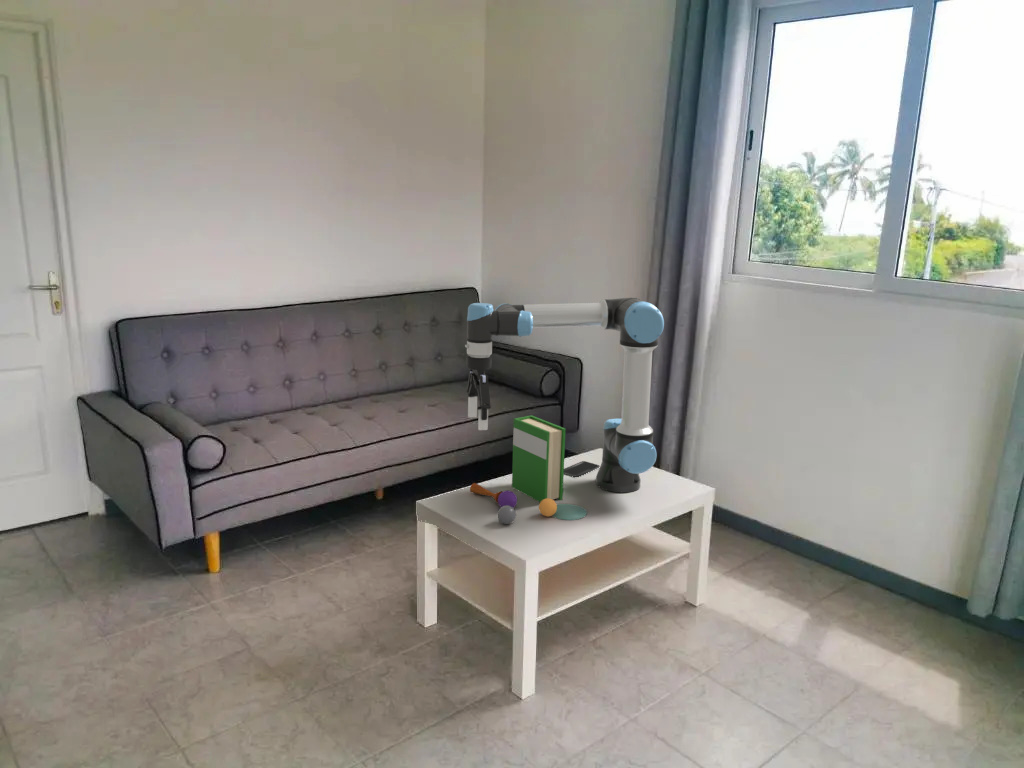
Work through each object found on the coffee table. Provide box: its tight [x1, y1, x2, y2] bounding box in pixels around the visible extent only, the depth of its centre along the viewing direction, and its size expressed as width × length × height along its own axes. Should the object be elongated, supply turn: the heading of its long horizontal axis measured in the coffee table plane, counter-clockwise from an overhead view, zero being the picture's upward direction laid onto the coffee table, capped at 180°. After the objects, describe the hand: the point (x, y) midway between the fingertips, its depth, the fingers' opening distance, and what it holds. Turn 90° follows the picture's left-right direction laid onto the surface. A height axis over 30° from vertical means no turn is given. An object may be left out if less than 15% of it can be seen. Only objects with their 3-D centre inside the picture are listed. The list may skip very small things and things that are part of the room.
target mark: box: [551, 503, 588, 521], centre depth 233 cm, size 12×12×1 cm
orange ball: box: [538, 498, 558, 518], centre depth 229 cm, size 6×6×6 cm
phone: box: [564, 460, 601, 478], centre depth 270 cm, size 8×1×15 cm
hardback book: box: [511, 415, 567, 503], centre depth 245 cm, size 18×7×24 cm, turn 36°
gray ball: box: [497, 506, 517, 525], centre depth 223 cm, size 6×6×6 cm
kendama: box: [469, 482, 518, 509], centre depth 240 cm, size 6×6×20 cm
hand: (477, 423), depth 230 cm, fingers open, 13 cm apart
